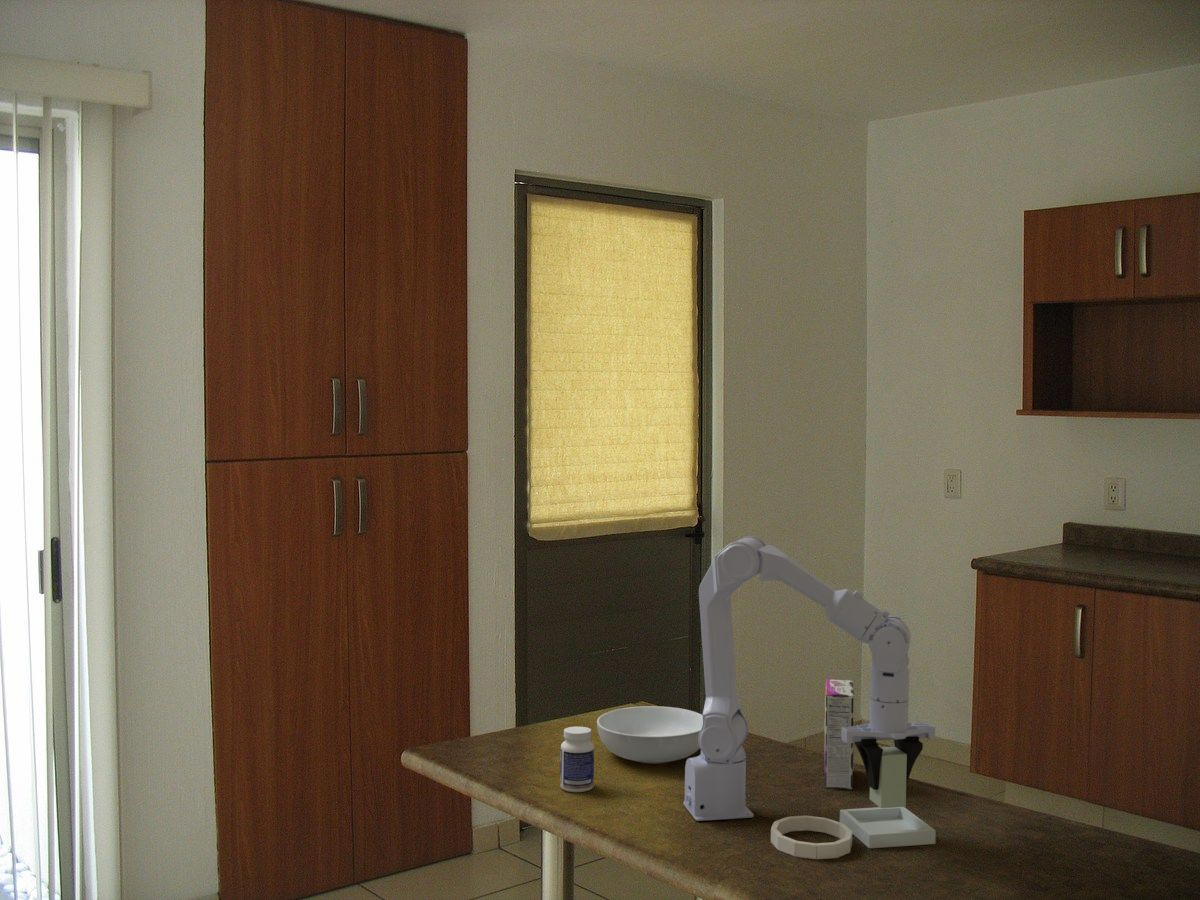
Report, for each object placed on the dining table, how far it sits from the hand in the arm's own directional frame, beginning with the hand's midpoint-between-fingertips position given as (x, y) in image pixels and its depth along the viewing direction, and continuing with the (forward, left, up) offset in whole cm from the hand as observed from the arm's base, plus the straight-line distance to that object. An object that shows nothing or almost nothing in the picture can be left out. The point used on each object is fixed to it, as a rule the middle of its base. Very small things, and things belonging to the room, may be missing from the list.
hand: (887, 786), depth 170 cm
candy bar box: (+3, +25, -7) cm, 26 cm away
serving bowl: (-26, +43, -7) cm, 51 cm away
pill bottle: (-43, +28, -7) cm, 52 cm away
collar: (-13, -2, -7) cm, 15 cm away
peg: (0, 0, -2) cm, 3 cm away
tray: (0, 0, -7) cm, 7 cm away
